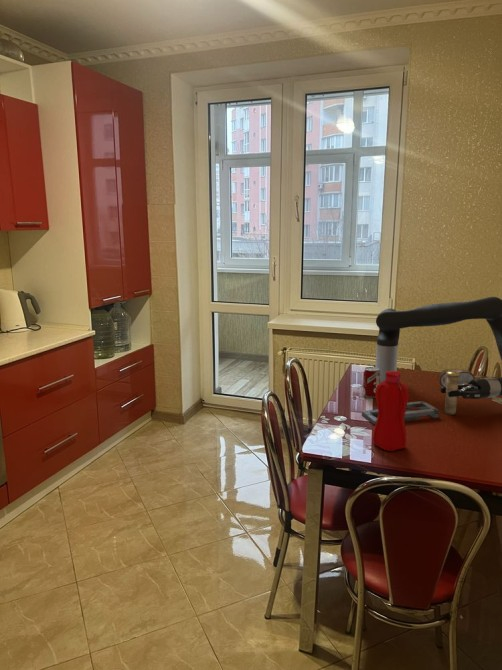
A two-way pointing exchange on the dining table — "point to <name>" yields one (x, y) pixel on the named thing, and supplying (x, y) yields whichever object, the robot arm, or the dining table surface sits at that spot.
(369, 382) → the soda can
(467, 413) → the dining table surface
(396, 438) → the water bottle
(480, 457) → the dining table surface
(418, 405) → the grey ladder frame
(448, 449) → the dining table surface
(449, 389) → the pin
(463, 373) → the tin
